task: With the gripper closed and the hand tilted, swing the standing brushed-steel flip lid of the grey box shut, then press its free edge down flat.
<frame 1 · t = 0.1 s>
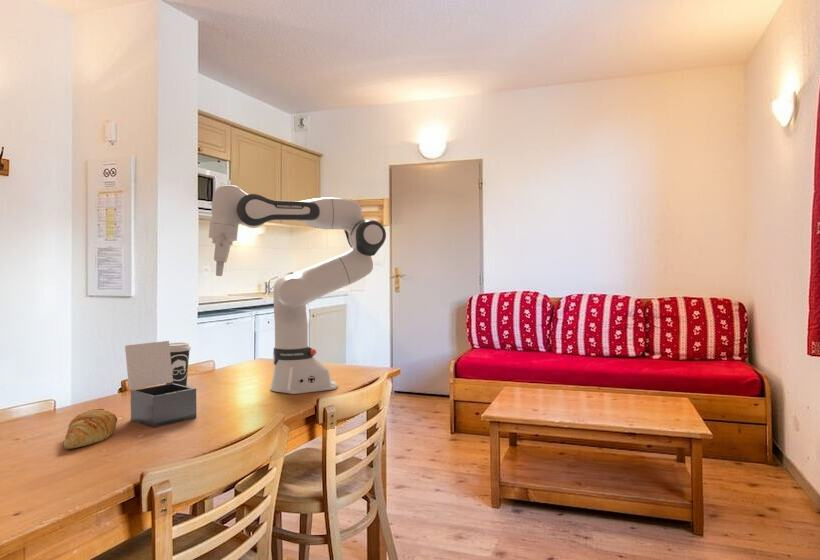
hand: (219, 275, 174), 39 cm above the table, tool pointing down, fingers open, 8 cm apart
lid: (148, 364, 149), point 14 cm above the table, hinge at 100.0°
grey box: (164, 418, 145), on the table
croissant: (90, 439, 128), on the table
coffee cup: (176, 387, 185), on the table
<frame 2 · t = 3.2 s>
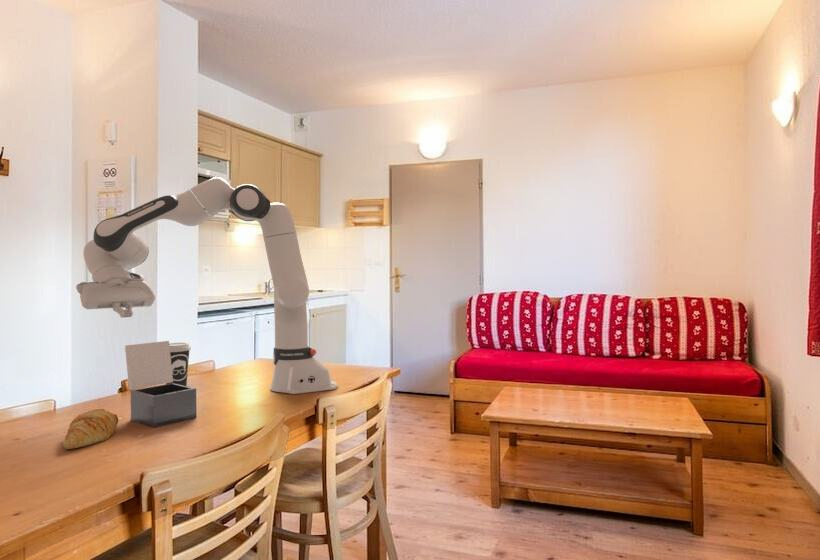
hand: (127, 316, 156), 27 cm above the table, tool tilted 45°, fingers closed
nothing on the table moved.
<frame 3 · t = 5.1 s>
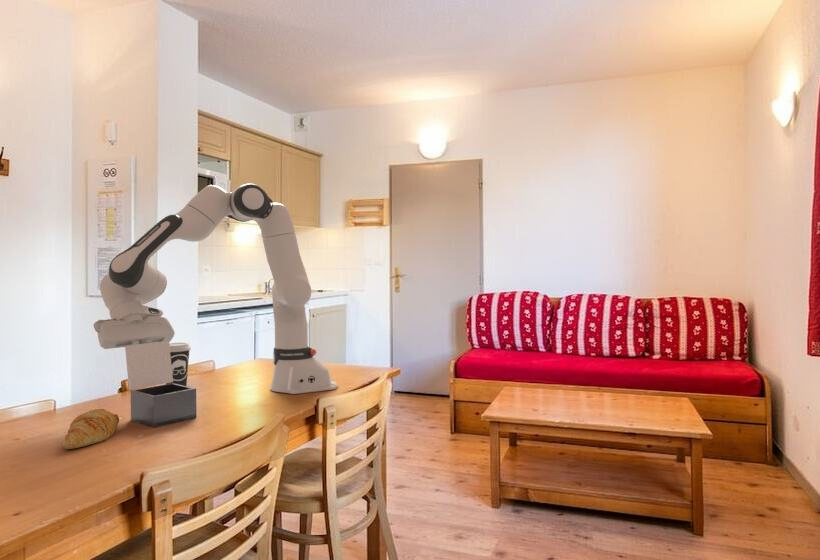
hand: (146, 354, 150), 17 cm above the table, tool tilted 45°, fingers closed, pressing on lid
lid: (148, 364, 149), point 14 cm above the table, hinge at 99.9°, touching gripper
everything else where it was.
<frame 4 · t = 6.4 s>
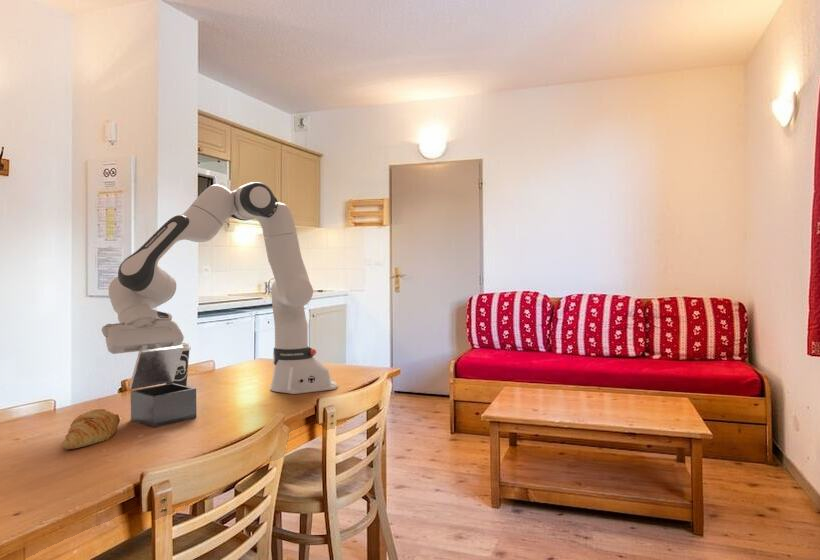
hand: (155, 359, 146), 16 cm above the table, tool tilted 45°, fingers closed, pressing on lid
lid: (156, 366, 147), point 14 cm above the table, hinge at 61.4°, touching gripper
everything else where it was.
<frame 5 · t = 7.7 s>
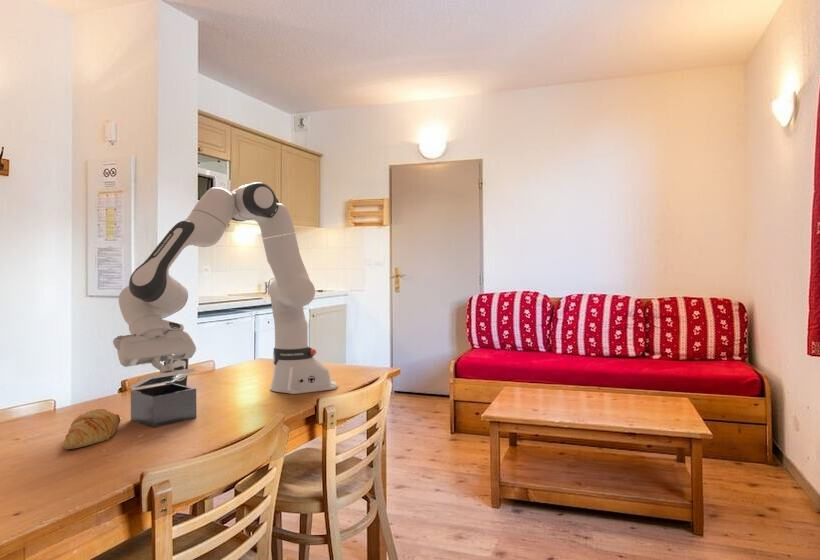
hand: (168, 372, 143), 13 cm above the table, tool tilted 45°, fingers closed, pressing on lid
lid: (162, 377, 145), point 11 cm above the table, hinge at 20.7°, touching gripper
everything else where it was.
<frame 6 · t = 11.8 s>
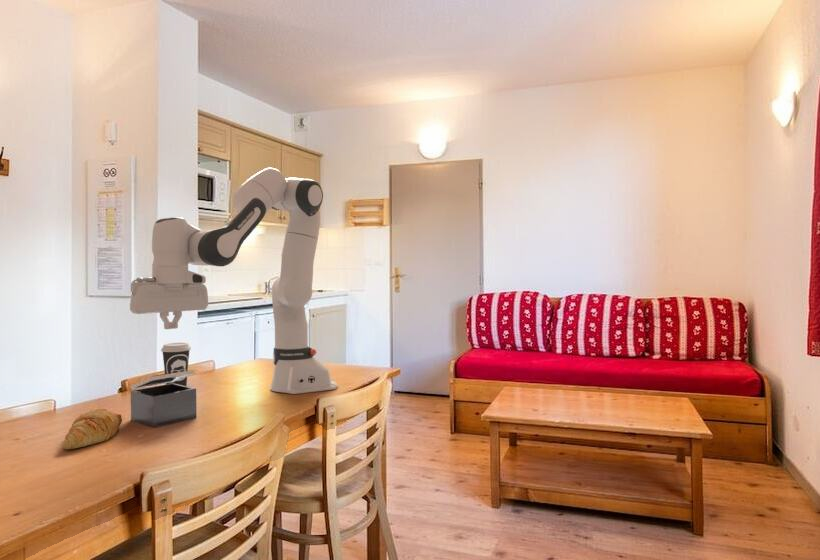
hand: (171, 328, 142), 25 cm above the table, tool pointing down, fingers closed
lid: (162, 378, 145), point 11 cm above the table, hinge at 18.6°
everything else where it was.
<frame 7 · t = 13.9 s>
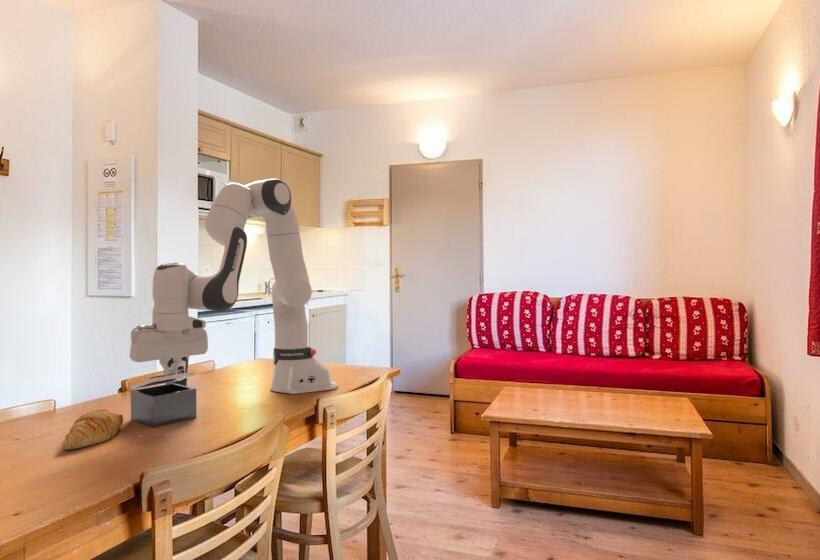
hand: (170, 374, 142), 13 cm above the table, tool pointing down, fingers closed, pressing on lid
lid: (162, 378, 145), point 11 cm above the table, hinge at 16.4°, touching gripper
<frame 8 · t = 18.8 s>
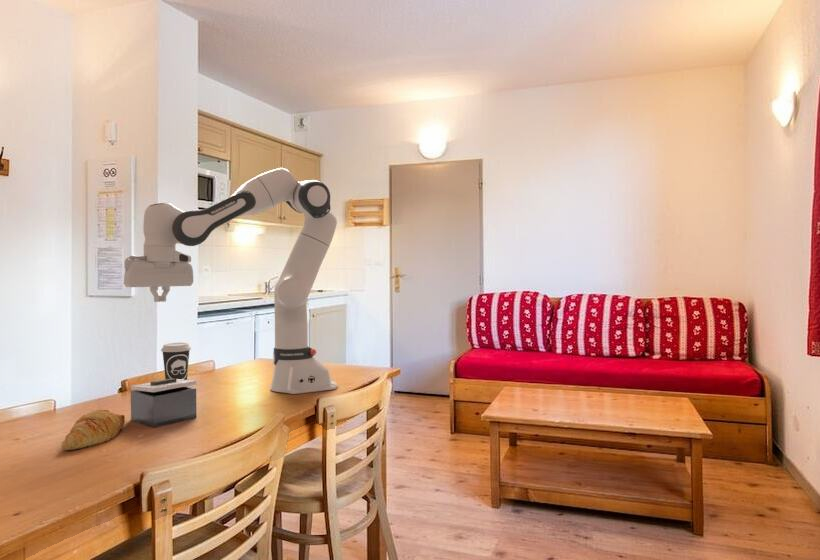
hand: (160, 301, 161), 31 cm above the table, tool pointing down, fingers closed
lid: (163, 383, 145), point 10 cm above the table, hinge at 4.0°
at the end: lid at +4° (first picture: +100°); the gripper is holding nothing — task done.
